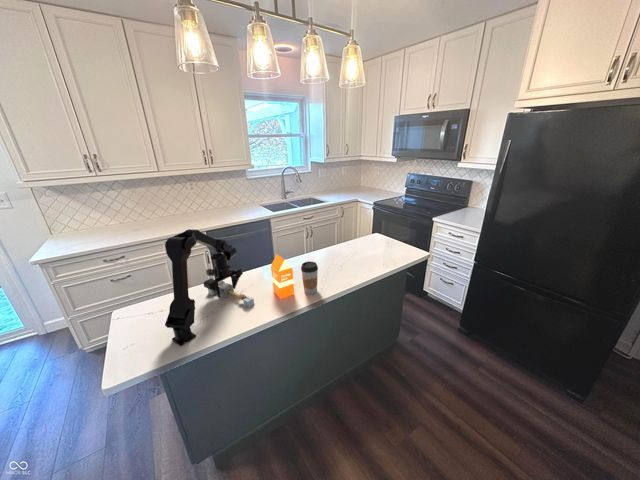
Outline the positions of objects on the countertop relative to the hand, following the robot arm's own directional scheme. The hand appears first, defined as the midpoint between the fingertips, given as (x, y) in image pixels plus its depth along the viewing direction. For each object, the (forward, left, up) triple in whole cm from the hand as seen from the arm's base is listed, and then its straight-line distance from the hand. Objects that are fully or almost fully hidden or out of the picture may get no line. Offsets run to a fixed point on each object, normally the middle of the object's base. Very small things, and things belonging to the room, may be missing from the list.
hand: (226, 292), depth 130 cm
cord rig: (-4, 0, -1) cm, 4 cm away
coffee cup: (-34, -25, -2) cm, 42 cm away
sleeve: (0, 0, 0) cm, 0 cm away
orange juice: (-23, -17, -2) cm, 29 cm away
